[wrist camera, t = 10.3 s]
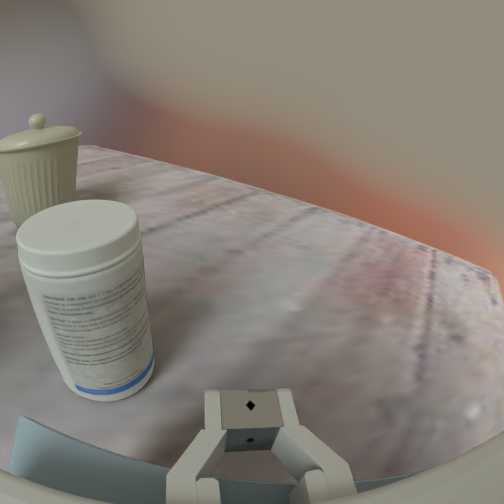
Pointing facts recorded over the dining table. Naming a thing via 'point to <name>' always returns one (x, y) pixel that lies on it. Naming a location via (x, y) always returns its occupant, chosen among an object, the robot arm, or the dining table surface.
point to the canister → (39, 168)
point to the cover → (125, 472)
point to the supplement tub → (90, 295)
